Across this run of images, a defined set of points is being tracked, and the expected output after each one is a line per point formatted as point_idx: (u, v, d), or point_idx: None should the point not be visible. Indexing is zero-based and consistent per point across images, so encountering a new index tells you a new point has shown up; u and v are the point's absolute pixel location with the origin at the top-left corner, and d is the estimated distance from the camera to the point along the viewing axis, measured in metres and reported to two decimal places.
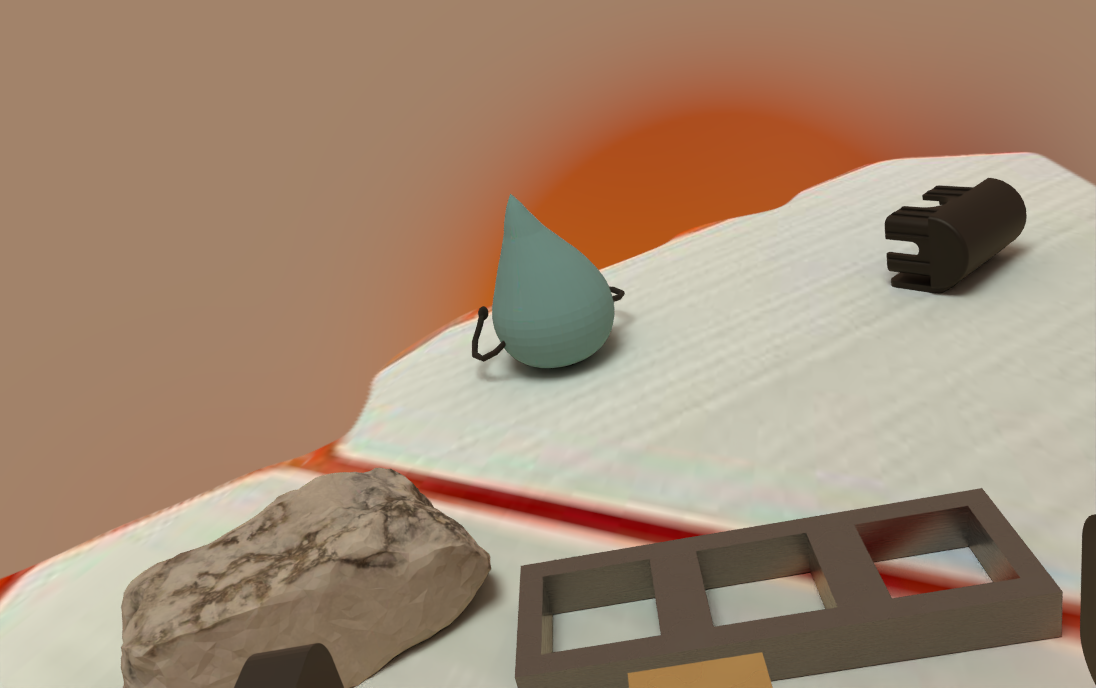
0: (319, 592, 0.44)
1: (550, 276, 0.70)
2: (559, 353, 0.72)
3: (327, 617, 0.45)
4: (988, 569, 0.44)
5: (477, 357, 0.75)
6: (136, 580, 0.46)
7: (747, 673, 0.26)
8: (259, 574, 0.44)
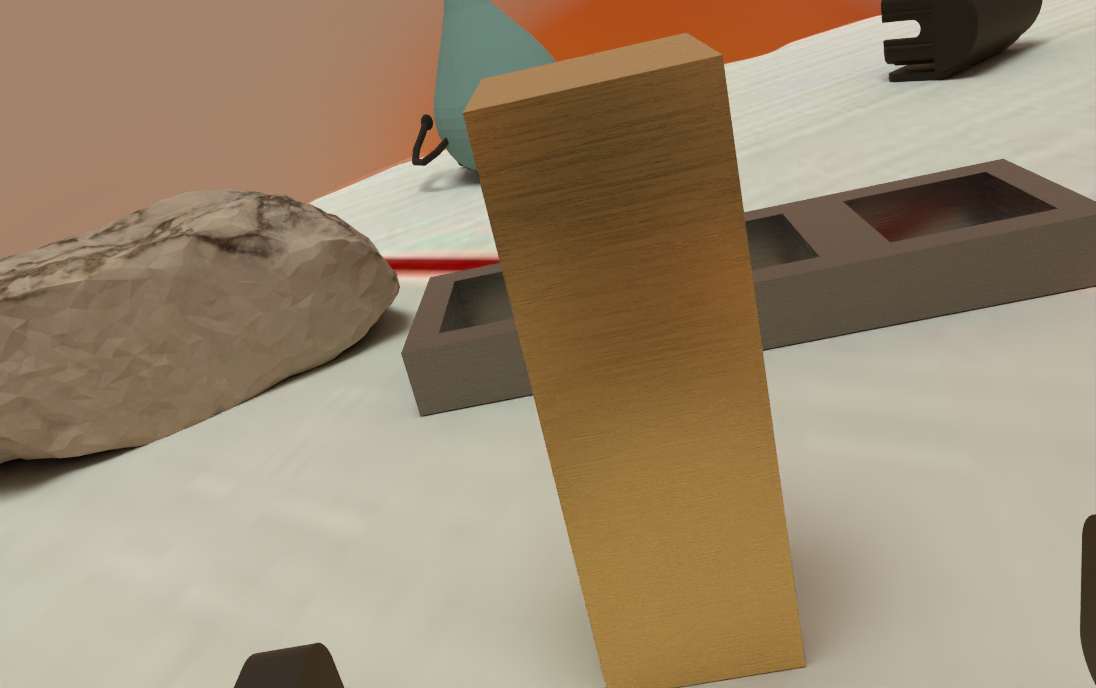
0: (168, 274, 0.35)
1: (496, 52, 0.61)
2: None
3: (182, 310, 0.35)
4: None
5: (417, 162, 0.66)
6: None
7: (661, 43, 0.17)
8: (93, 255, 0.35)
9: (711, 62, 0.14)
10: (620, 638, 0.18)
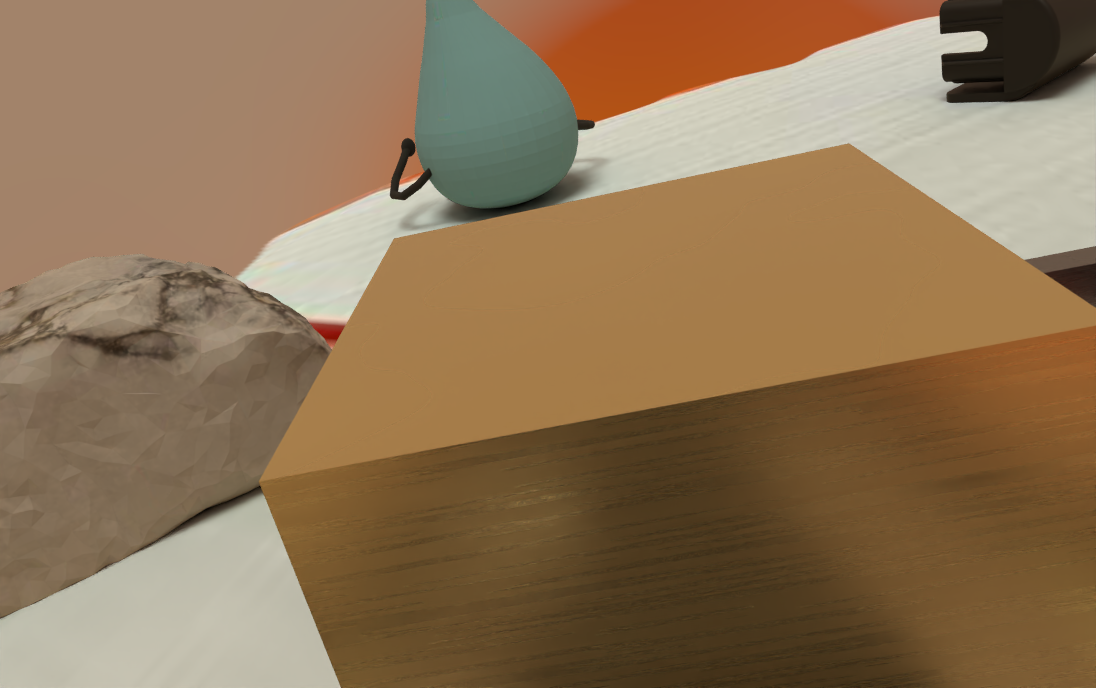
0: (31, 390, 0.26)
1: (487, 69, 0.52)
2: (502, 178, 0.53)
3: (51, 437, 0.26)
4: None
5: (395, 195, 0.56)
6: None
7: (802, 176, 0.07)
8: None
9: (1074, 343, 0.04)
10: None
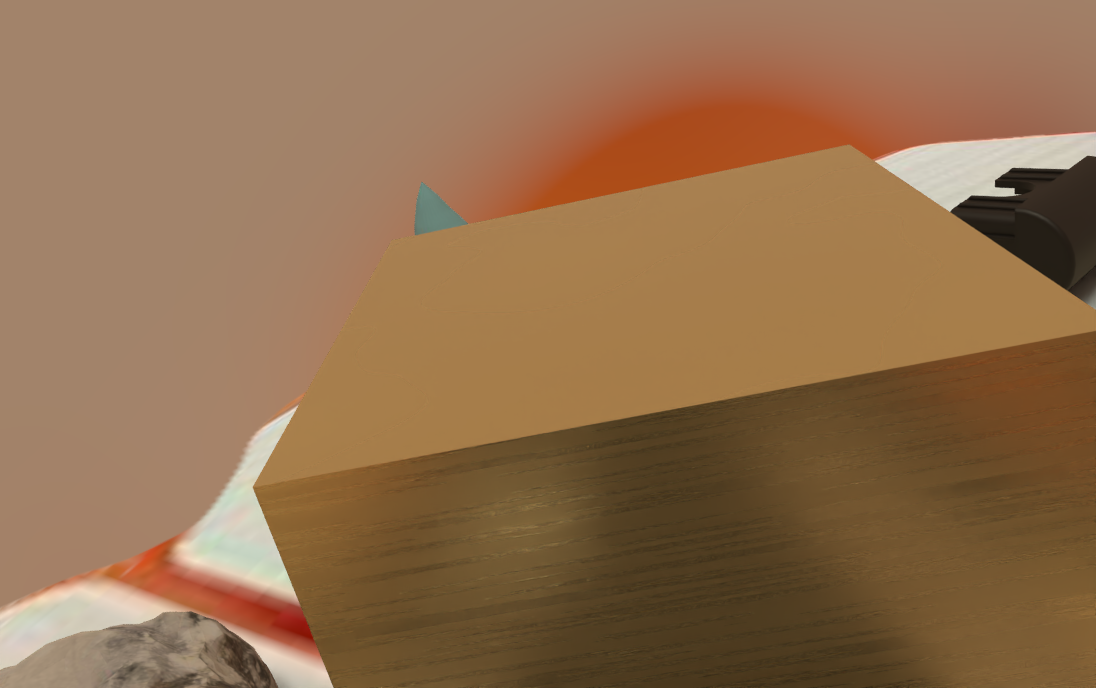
0: None
1: None
2: None
3: None
4: None
5: None
6: None
7: (803, 179, 0.07)
8: None
9: (1076, 348, 0.04)
10: None
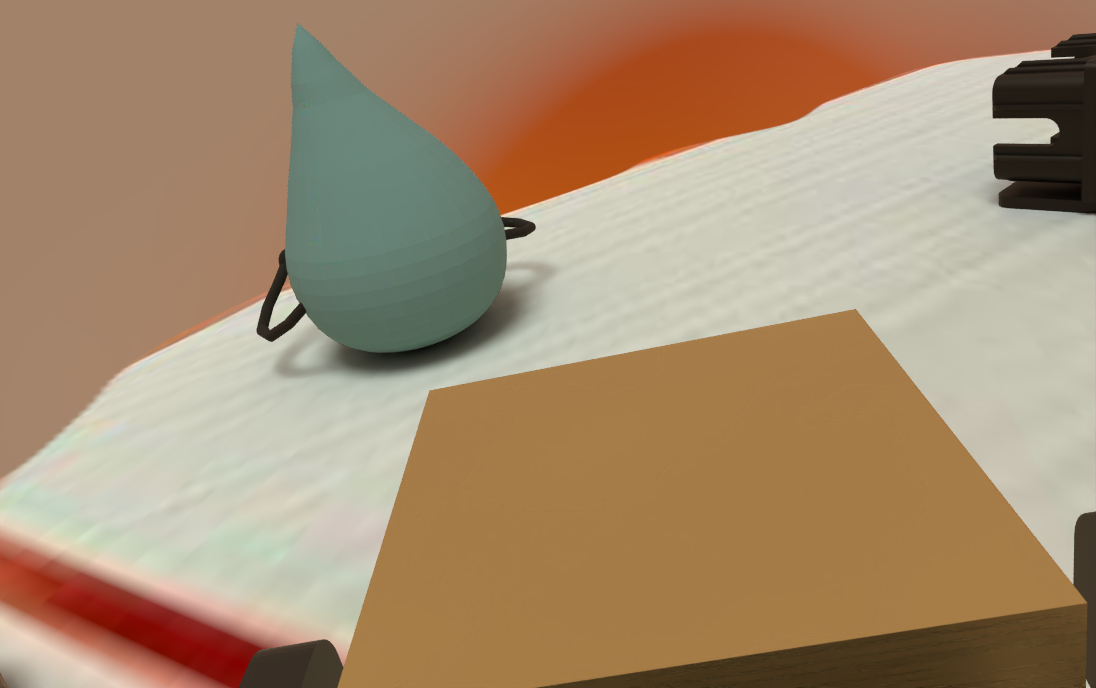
0: None
1: (371, 176, 0.37)
2: (395, 323, 0.39)
3: None
4: None
5: (262, 334, 0.42)
6: None
7: (810, 354, 0.08)
8: None
9: (1049, 618, 0.05)
10: None
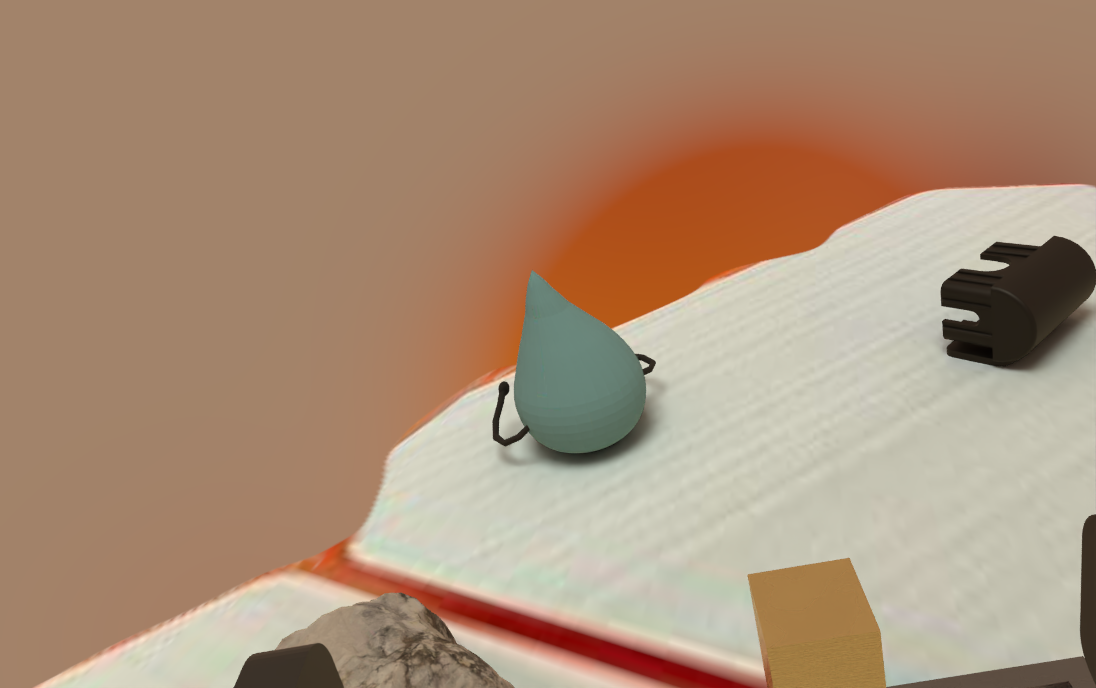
0: None
1: (577, 359, 0.65)
2: (588, 440, 0.66)
3: None
4: None
5: (498, 441, 0.70)
6: None
7: (839, 572, 0.35)
8: None
9: (875, 633, 0.32)
10: None
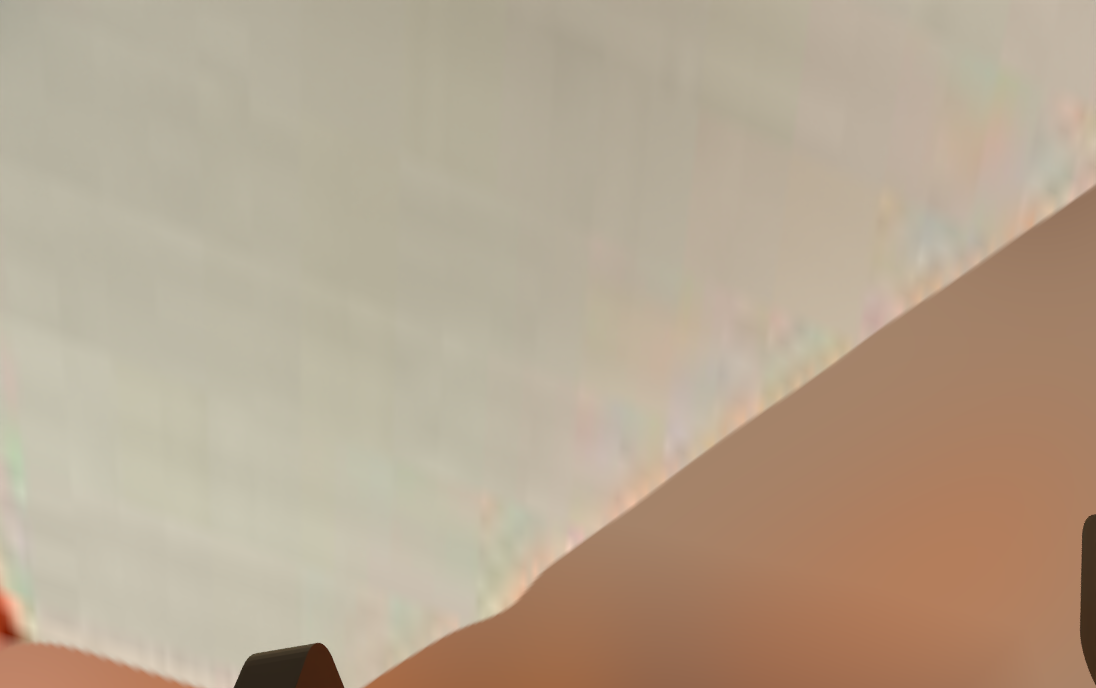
0: None
1: None
2: None
3: None
4: None
5: None
6: None
7: None
8: None
9: None
10: None
